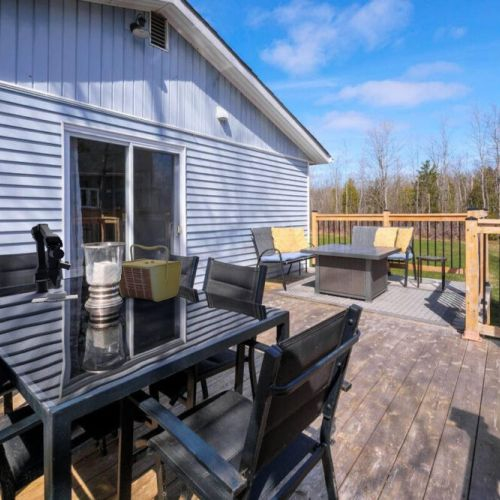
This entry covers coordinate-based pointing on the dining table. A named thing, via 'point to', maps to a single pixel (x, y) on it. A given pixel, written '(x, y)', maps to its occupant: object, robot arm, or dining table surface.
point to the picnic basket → (150, 277)
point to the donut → (56, 295)
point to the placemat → (54, 299)
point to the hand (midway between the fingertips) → (55, 285)
